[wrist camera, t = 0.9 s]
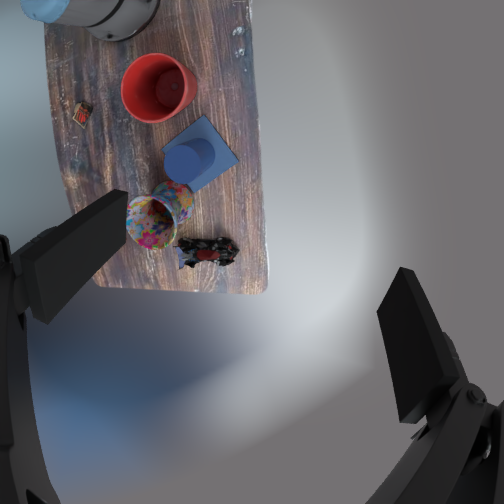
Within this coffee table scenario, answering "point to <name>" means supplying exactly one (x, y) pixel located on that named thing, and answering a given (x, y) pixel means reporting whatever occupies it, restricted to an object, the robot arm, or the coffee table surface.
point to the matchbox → (82, 113)
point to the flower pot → (157, 87)
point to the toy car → (205, 251)
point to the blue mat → (222, 151)
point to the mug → (159, 214)
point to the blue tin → (189, 160)
